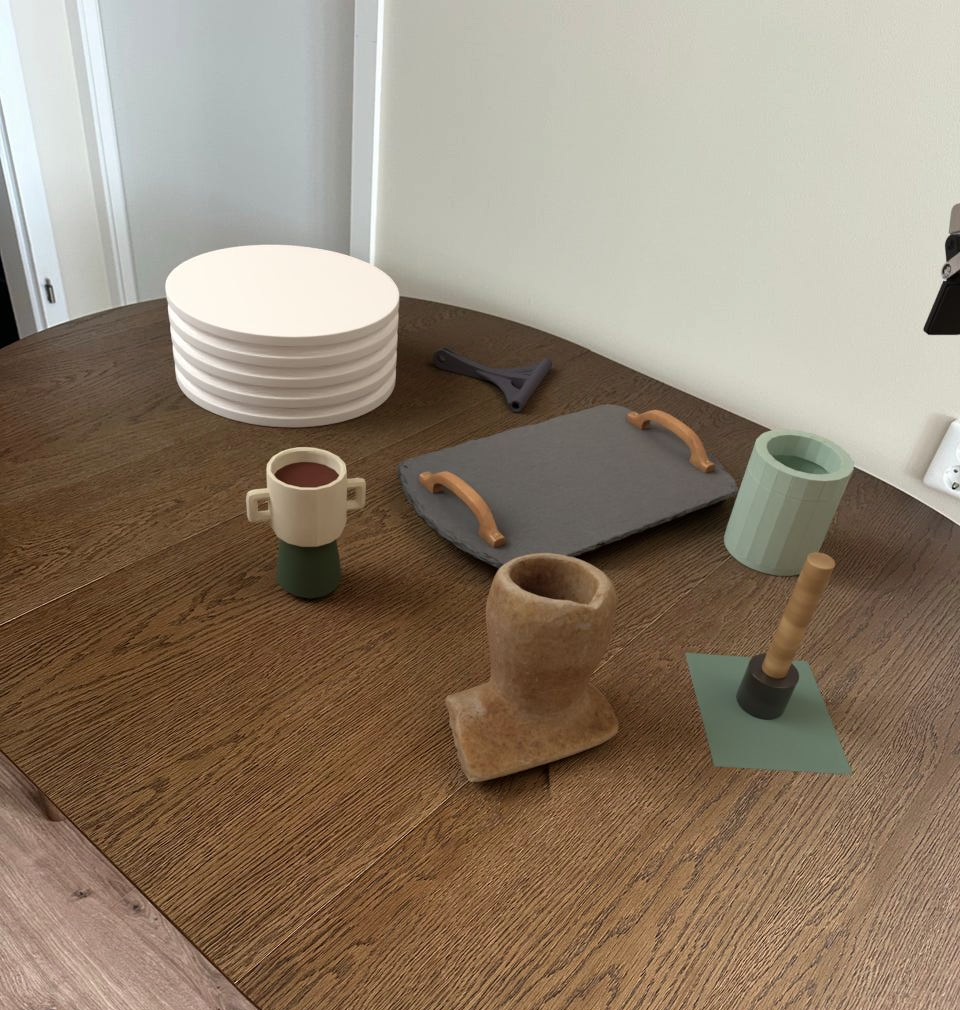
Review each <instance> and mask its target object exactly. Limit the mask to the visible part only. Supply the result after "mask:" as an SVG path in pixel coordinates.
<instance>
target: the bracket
mask: <svg viewBox="0 0 960 1010" xmlns="http://www.w3.org/2000/svg"><path fill="white" fill-rule="evenodd" d="M441 357H442V358H443V359H442V358H441ZM432 362H433V364H434V366H436V367H437V368H439V369H441V370H444V371H447V372H452V373H456V374H460V375H463V376H467V377H471V378H475V379H478V380H483V381H487V382H489V383H493V384H495V385H496V386H497V387H498V389H500V390H501V392H502V393H503V394H504V396H505V399H506V402H507V405H508V406H509V409H510V410H511V411H512V412H513V413H520V412H521V411H522V409H524V406H526V404H527V402H528V401H529V400H530V398H531V397H532V395H533V394H534V393H535V392H536V390H537V389H538V387H539V385H540V384H541V383H542V381H543V380H544V378H545V377H546V375H547V374H548V373H549V371H550V370H551V368H553V362H552V360H551V358H548V357H544V358H542V360H541V361H540V362H536V363H533V364H530V365H526V366H521V367H513V368H512V367H511V368H502V367H501V368H499V367H489V366H486V365H484V364H481V363H479V362H477V361H473V360H471V359H470V358H467V357H465V356H464V355H462V354H460V353H458V352H455V351H453V349H450V348H449V347H447V346H441V347H440V348H438V349H437V350H436V351H435V352H434V354H433V355H432Z"/></svg>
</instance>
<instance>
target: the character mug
mask: <svg viewBox="0 0 960 1010" xmlns="http://www.w3.org/2000/svg"><path fill="white" fill-rule="evenodd" d="M265 470H266V487H265V488H257V489H256V488H255V489H251V490H250V491H247V493H246V495H245V504H246V506H245V507H246V517H247V519H248V522H250V523H254V524H258V523H265V522H268V524H269V526H270V527H271V529H272V531H273V532H274V534H275V535H276V537H277V538H278V539H279V543H278V552H277V560H276V580H275V581H276V583H278V585H279V586H280V587H281V589H282V590H284V591H286V592H287V593H290V594H291V595H293V596H294V597H300V598H305V599H316V598H321V597H325V596H327V595H329V594H330V593H332V592H334V591H335V590H337V588H338V586H339V585H340V583H341V582H342V569H341V568H342V567H341V560H340V553H339V547H338V546H339V545H338V540H337V539H338V538H340V537H341V535H342V534H343V532H344V529H345V527H346V525H347V520H348V519H347V516H348V515H347V512H351V511H358V510H362V509H363V508H364V507H365V505H366V493H367V491H366V490H367V481H366V479H365V478H363V477H362V478H361V477H353V478H352V477H351V478H348V472H347V465H346V462H344V461H343V459H341V457H340V456H338V455H337V454H334V453H333V452H330V451H329V450H325V449H322V448H317V447H307V446H299V447H297V446H296V447H292V448H288V449H285V450H281V451H280V452H278V453H277V454H275V455H272V457H271V458H270V459H269V461H268V462H267V463H266V469H265ZM348 490H355V494H354V495H355V497H354V499H348ZM265 500H267V508H268V509H267V510H259V507H258V501H265Z"/></svg>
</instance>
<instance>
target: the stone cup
mask: <svg viewBox="0 0 960 1010" xmlns="http://www.w3.org/2000/svg"><path fill="white" fill-rule="evenodd" d="M485 604H486V605H485V623H486V624H485V625H486V633H487V640H488V641H487V642H488V650H489V658H490V677H489V679H488V681H487V682H483V683H480V684H479V685H476V686H474V687H473V686H472V687H471V688H468V689H464V690H461V691H458V692H455V693H451V694H448V695H447V696H446V697H445V701H444V703H445V708H446V709H447V711H448V716H449V721H448V722H449V727H450V728H451V732H452V738H453V742H454V743H453V744H454V747H455V748H456V750H457V751H456V758H457V759H458V763H459V765H460V766H461V770H462V772H463V774H464V775H465V776H466V778H467V780H468V781H469V782H470V783H481V782H485V781H489V780H493V779H498V778H501V777H505V776H510V775H513V774H516V773H519V772H522V771H526V770H530V769H532V768H536V767H539V766H542V765H543V766H544V765H546V764H549V763H552V762H555V761H559V760H563V759H564V758H568V757H570V756H574V755H577V754H579V753H582V752H584V751H587V750H589V749H592V748H595V747H597V746H600V745H602V744H605V742H607V741H609V740H611V739H612V738H613V737H615V736H616V735H617V733H618V731H619V721H618V719H617V716H616V715H615V712H614V709H613V707H612V705H611V704H610V702H609V700H608V699H607V697H605V695H604V694H603V693H602V692H601V690H600V689H599V688H598V687H596V685H594V684H593V683H592V682H591V681H590V680H591V678H592V675H593V674H594V673H595V671H596V669H597V668H598V667H599V665H600V664H601V662H602V661H603V659H604V657H605V655H606V652H607V650H608V647H609V645H610V642H611V639H612V636H613V634H614V633H613V632H614V627H615V622H616V615H617V610H618V609H617V608H618V594H617V591H616V587H615V585H614V582H613V581H612V580H611V579H610V577H609V576H608V575H607V574H606V573H605V572H603V571H602V570H601V569H599V568H598V567H596V566H595V565H593V564H591V563H589V562H588V561H585V560H582V559H580V558H576V557H569V556H564V555H560V554H551V553H536V554H530V555H524V556H521V557H518V558H515V559H513V560H510V561H509V562H507V563H505V564H504V565H503V566H502V567H501V568H500V569H499V568H498V569H497V571H496V573H495V575H494V576H493V579H492V582H491V584H490V588H489V591H488V595H487V599H486V603H485Z"/></svg>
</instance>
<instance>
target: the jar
mask: <svg viewBox="0 0 960 1010" xmlns="http://www.w3.org/2000/svg"><path fill="white" fill-rule="evenodd" d="M854 469H855V461H854V460H853V459H852V457H851V455H850V454H849V453H848V452H847V451H846V450H845V449H844V448H843V447H842V446H841V445H839V444H837V443H835V442H834V441H832V440H830V439H828V438H826V437H824V436H821V435H818V434H815V433H812V432H808V431H804V430H799V429H788V428H782V429H771V430H768V431H765V432H762V433H761V434H760V435H759V436H758V437H756V439H755V442H754V444H753V448H752V450H751V454H750V457H749V460H748V463H747V466H746V469H745V472H744V474H743V477H742V481H741V484H740V486H739V488H738V489H739V492H738V494H737V495H736V498H735V501H734V504H733V507H732V510H731V513H730V516H729V519H728V522H727V525H726V528H725V532H724V534H723V543H724V546H725V549H726V550H727V552H728V553H729V554H730V555H731V556H732V557H733V558H734V559H735V560H736V561H737V562H739V563H740V564H742V565H743V566H745V567H748V568H749V569H751V570H754V571H755V572H756V571H757V572H758V573H759V572H760V573H762V574H765V575H771V576H777V577H792V576H793V577H794V576H798V575H800V573H801V571H802V568H803V566H804V563H805V561H806V559H807V556H808V555H809V554H810V553H813V552H819V553H820V550H821V548H822V545H823V544H824V541H825V538H826V536H827V534H828V531H829V529H830V526H831V524H832V522H833V519H834V518H835V515H836V512H837V510H838V508H839V505H840V504H841V500H842V497H843V495H844V494H845V492H846V489H847V486H848V484H849V481H850V479H851V477H852V475H853V472H854Z"/></svg>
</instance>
